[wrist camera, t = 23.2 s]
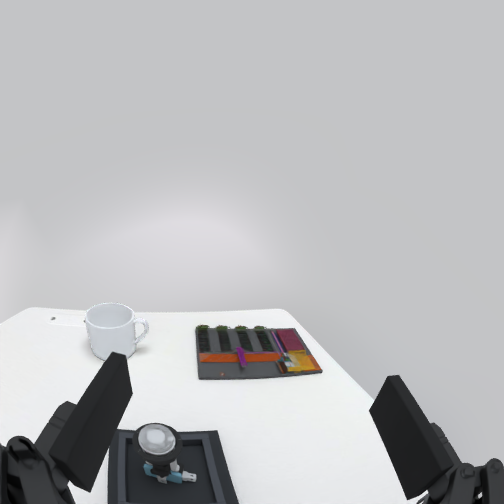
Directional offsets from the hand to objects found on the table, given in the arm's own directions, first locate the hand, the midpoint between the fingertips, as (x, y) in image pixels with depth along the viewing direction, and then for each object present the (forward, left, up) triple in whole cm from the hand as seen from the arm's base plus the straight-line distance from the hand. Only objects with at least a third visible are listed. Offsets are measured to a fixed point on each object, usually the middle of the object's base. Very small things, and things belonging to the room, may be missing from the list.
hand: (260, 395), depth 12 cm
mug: (+38, +15, -26) cm, 48 cm away
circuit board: (+37, -14, -26) cm, 47 cm away
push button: (+8, +6, -25) cm, 27 cm away
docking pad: (+8, +6, -26) cm, 28 cm away
